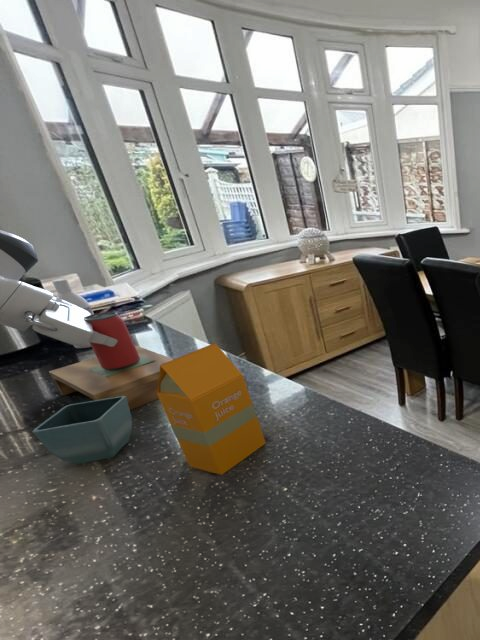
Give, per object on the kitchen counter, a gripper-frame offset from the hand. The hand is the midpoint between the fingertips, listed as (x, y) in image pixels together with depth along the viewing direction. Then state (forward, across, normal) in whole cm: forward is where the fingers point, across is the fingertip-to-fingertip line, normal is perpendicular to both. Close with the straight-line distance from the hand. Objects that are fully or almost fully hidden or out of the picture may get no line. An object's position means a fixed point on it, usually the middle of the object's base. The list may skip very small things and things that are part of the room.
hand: (114, 338), depth 89 cm
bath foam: (+4, +46, +14) cm, 48 cm away
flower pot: (+4, -29, +14) cm, 32 cm away
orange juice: (+15, -46, +3) cm, 49 cm away
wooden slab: (+8, 0, +10) cm, 13 cm away
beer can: (+4, 0, +5) cm, 7 cm away
